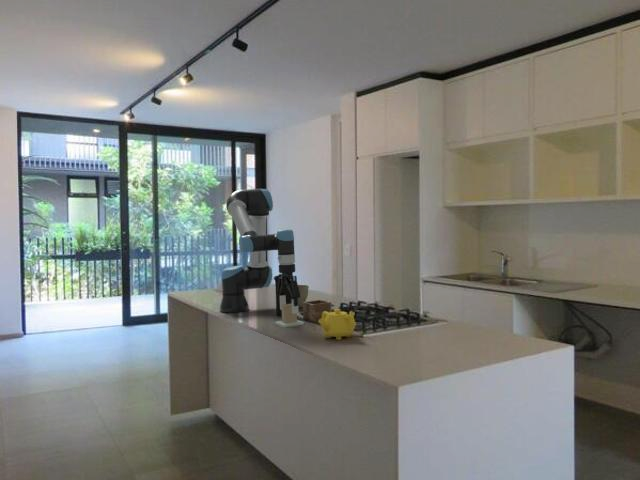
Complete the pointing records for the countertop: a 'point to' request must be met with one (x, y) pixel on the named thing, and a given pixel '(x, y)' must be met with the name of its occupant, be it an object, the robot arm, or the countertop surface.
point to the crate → (315, 309)
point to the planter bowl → (302, 294)
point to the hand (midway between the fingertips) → (289, 311)
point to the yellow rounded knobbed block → (337, 324)
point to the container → (288, 297)
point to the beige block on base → (288, 317)
